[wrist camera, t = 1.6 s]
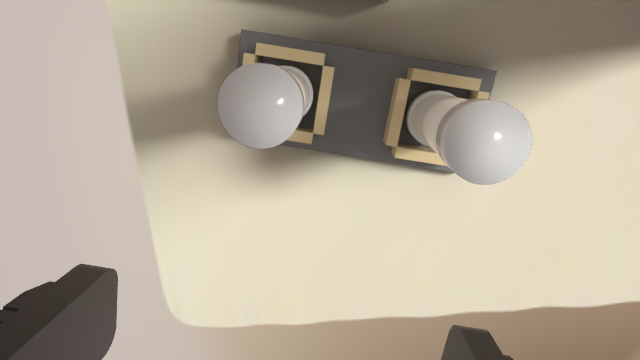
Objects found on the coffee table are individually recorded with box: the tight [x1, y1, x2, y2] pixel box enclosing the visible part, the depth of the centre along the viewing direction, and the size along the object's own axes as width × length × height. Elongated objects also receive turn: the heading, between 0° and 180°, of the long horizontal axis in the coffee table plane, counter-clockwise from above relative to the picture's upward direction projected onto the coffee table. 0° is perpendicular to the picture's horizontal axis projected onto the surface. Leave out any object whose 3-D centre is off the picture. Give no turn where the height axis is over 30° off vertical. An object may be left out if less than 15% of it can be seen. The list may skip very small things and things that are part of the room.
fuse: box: [404, 90, 532, 185], centre depth 25 cm, size 4×4×12 cm
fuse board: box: [237, 29, 497, 173], centre depth 30 cm, size 19×8×4 cm, turn 81°
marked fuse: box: [217, 63, 314, 149], centre depth 25 cm, size 4×4×12 cm
